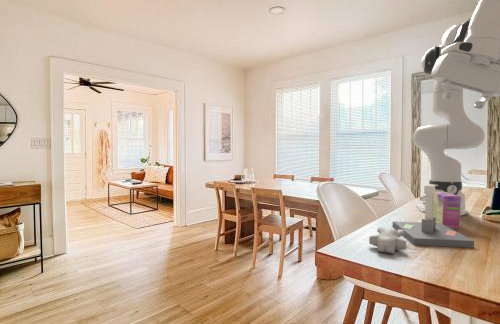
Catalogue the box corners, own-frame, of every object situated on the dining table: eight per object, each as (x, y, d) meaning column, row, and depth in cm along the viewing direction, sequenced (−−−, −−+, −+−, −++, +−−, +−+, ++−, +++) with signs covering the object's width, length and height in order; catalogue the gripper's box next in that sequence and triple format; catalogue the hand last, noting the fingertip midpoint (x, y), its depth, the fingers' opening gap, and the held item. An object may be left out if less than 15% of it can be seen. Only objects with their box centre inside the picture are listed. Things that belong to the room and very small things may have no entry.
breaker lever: (435, 227, 95) (436, 184, 94) (433, 230, 92) (434, 186, 91) (424, 226, 97) (425, 184, 96) (422, 229, 94) (423, 185, 93)
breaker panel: (392, 226, 106) (392, 210, 105) (440, 228, 103) (440, 211, 103) (414, 244, 86) (414, 224, 86) (473, 247, 83) (474, 227, 83)
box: (460, 229, 103) (461, 196, 102) (442, 228, 104) (443, 195, 103) (446, 221, 113) (447, 191, 112) (430, 221, 114) (431, 191, 113)
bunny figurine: (366, 238, 80) (374, 220, 93) (366, 255, 81) (375, 235, 93) (405, 244, 75) (408, 224, 88) (404, 262, 76) (408, 240, 89)
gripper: (505, 67, 83) (489, 114, 84) (436, 48, 83) (421, 95, 84) (525, 61, 77) (507, 112, 78) (450, 41, 77) (434, 91, 78)
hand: (461, 103), depth 81 cm, fingers open, 8 cm apart
